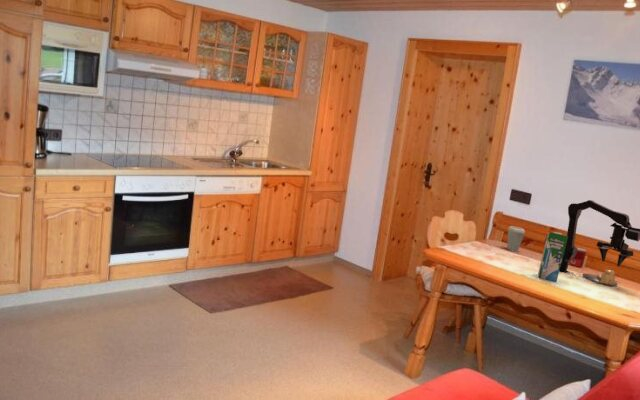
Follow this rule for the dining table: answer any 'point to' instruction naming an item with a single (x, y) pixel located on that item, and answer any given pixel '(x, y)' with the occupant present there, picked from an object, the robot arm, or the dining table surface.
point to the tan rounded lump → (606, 278)
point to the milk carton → (552, 256)
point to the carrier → (595, 277)
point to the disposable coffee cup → (514, 237)
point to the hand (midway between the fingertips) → (610, 263)
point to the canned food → (578, 258)
